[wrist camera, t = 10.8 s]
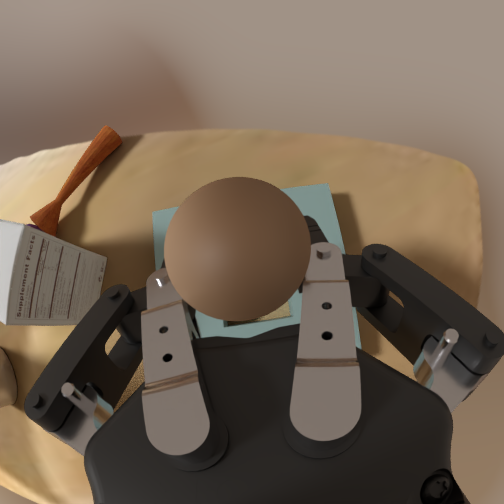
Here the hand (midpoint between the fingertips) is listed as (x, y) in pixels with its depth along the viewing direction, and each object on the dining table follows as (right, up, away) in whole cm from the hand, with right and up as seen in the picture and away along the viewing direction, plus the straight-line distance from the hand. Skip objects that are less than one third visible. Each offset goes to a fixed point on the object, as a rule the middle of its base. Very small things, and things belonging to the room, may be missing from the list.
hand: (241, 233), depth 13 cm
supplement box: (-18, -4, +12) cm, 22 cm away
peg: (+1, -3, +4) cm, 5 cm away
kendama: (-21, +5, +14) cm, 26 cm away
